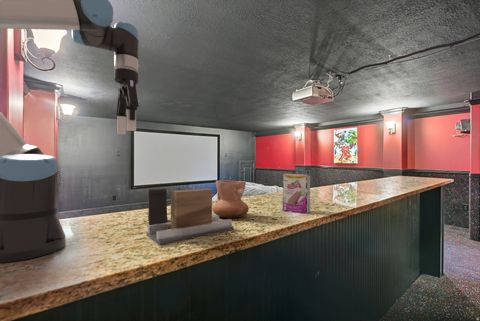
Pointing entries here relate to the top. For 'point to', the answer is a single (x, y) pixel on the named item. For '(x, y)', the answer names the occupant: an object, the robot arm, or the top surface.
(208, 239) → the top surface
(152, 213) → the door stopper
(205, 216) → the brown wooden block
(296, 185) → the candy bar box
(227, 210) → the ceramic jug
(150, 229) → the door track
